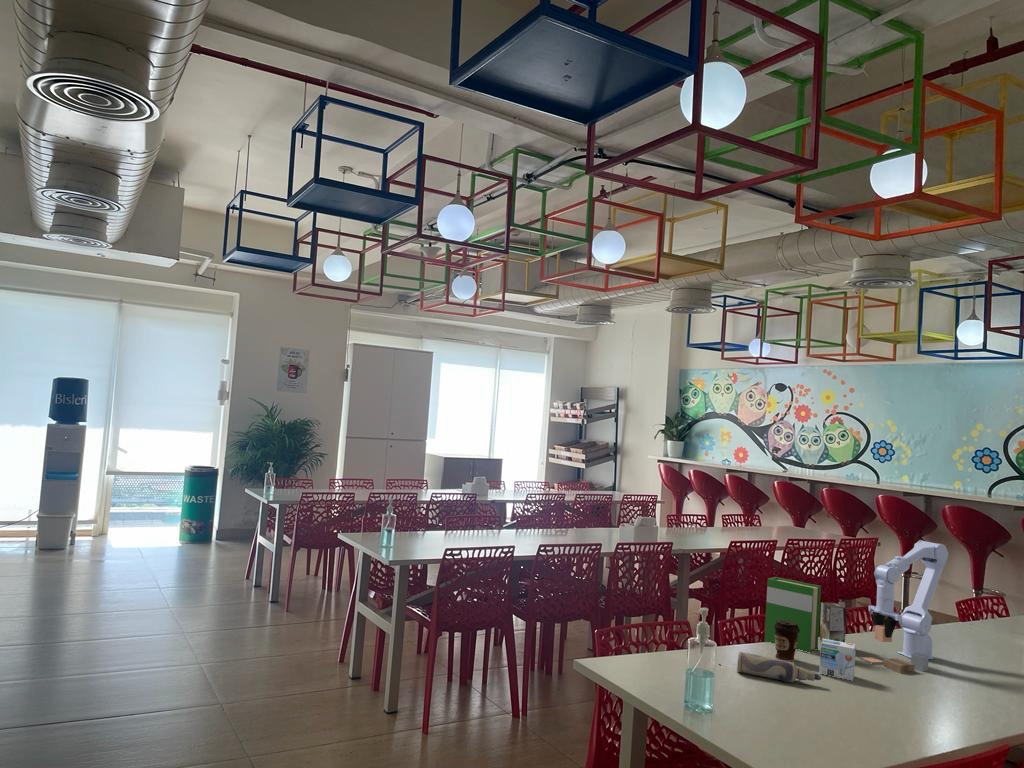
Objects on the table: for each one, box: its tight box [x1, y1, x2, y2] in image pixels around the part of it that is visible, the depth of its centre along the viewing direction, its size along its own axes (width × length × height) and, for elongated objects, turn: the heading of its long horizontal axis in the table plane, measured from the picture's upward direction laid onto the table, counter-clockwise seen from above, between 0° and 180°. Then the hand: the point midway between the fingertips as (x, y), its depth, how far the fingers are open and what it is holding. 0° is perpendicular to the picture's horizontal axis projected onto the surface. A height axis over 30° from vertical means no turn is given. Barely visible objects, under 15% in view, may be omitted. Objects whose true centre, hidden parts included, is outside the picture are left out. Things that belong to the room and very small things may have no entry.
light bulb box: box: [818, 638, 856, 682], centre depth 246 cm, size 11×7×11 cm, turn 62°
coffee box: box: [819, 601, 847, 644], centre depth 282 cm, size 9×6×16 cm
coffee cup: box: [774, 620, 800, 662], centre depth 260 cm, size 9×8×13 cm
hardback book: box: [763, 576, 822, 653], centre depth 280 cm, size 18×7×24 cm, turn 45°
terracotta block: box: [874, 625, 893, 643], centre depth 271 cm, size 4×4×5 cm
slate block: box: [910, 653, 929, 672], centre depth 260 cm, size 4×4×5 cm
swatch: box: [857, 656, 883, 665], centre depth 266 cm, size 7×7×1 cm
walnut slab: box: [882, 657, 916, 674], centre depth 258 cm, size 7×7×3 cm
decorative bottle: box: [736, 651, 822, 684], centre depth 237 cm, size 26×8×7 cm, turn 67°
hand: (883, 635), depth 271 cm, fingers closed on terracotta block, 4 cm apart
